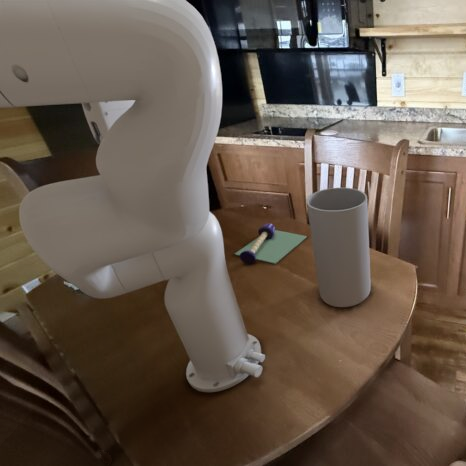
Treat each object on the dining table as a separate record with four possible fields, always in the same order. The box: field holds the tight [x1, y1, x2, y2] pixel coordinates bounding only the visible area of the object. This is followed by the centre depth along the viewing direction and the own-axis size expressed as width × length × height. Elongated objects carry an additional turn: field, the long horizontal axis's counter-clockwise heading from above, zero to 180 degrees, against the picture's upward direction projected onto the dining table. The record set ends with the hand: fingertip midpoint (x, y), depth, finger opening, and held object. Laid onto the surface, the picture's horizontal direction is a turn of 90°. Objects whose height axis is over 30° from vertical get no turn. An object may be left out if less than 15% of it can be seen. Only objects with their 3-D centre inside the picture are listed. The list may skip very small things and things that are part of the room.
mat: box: [234, 229, 308, 265], centre depth 96 cm, size 14×16×1 cm
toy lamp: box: [239, 223, 276, 265], centre depth 94 cm, size 5×5×17 cm
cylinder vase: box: [306, 187, 372, 308], centre depth 72 cm, size 12×12×25 cm
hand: (147, 177), depth 63 cm, fingers closed
